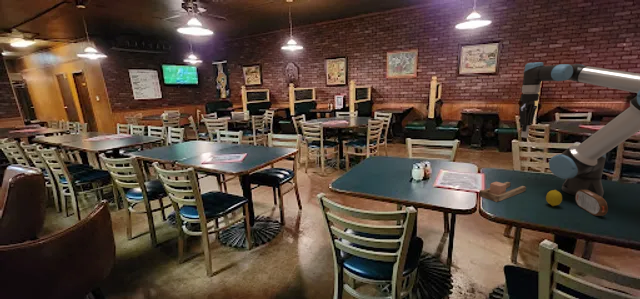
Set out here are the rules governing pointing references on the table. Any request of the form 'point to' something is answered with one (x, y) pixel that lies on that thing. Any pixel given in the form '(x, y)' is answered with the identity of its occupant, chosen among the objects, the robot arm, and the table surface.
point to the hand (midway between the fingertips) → (524, 137)
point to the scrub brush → (591, 202)
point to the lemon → (554, 197)
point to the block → (497, 188)
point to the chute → (502, 196)
